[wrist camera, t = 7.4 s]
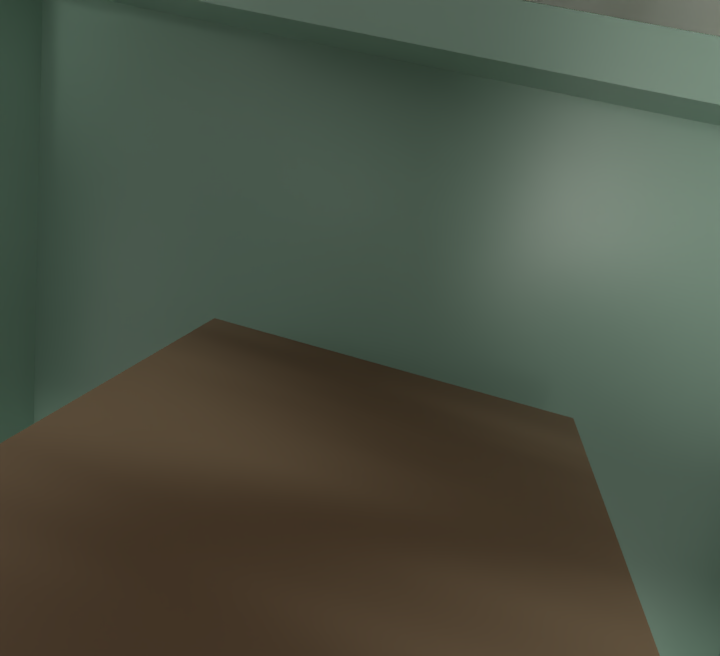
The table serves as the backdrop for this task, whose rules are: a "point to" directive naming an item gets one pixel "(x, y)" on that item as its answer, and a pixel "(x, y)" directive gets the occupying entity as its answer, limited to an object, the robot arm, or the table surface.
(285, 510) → the walnut block
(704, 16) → the table surface
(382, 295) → the tray
